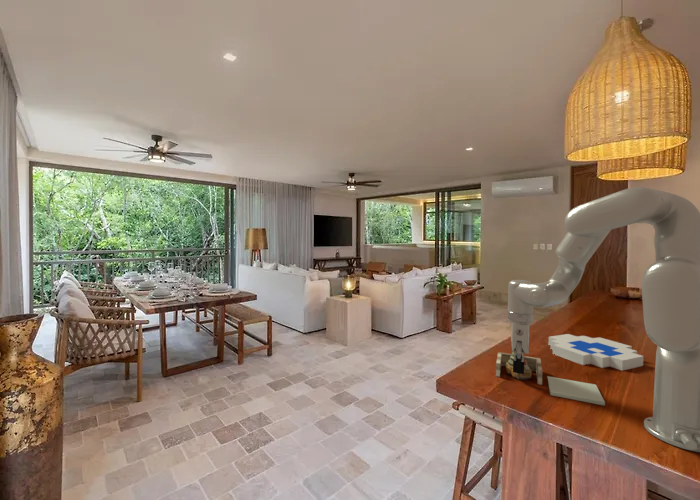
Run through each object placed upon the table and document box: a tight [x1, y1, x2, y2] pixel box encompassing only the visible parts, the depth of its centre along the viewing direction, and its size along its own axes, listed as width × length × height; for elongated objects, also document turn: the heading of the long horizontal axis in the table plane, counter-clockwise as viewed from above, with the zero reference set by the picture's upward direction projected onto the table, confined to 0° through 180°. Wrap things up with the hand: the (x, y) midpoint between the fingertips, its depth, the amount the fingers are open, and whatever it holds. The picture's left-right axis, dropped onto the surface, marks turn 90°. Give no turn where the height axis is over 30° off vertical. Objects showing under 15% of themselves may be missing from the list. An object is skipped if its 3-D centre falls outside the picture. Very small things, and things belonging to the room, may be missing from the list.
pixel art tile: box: [548, 333, 644, 371], centre depth 129 cm, size 28×4×28 cm
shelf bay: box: [495, 351, 543, 385], centre depth 112 cm, size 12×13×4 cm
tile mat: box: [546, 375, 606, 406], centre depth 99 cm, size 12×13×1 cm
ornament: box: [505, 350, 533, 380], centre depth 110 cm, size 8×6×10 cm
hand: (518, 367), depth 110 cm, fingers closed on ornament, 8 cm apart
